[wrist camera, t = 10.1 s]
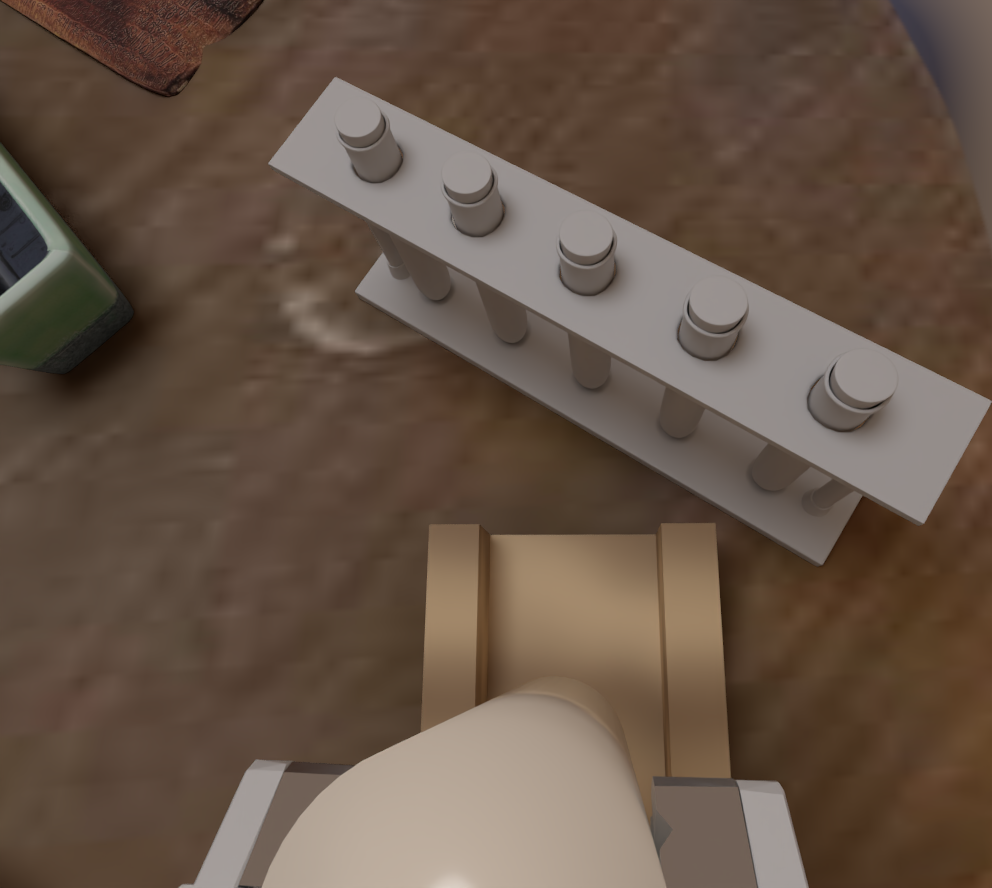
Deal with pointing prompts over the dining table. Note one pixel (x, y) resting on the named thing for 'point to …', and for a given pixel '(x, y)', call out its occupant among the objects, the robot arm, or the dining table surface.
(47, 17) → the wooden tablet
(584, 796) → the clay rod
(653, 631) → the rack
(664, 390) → the test tube rack
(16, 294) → the planter
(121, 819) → the dining table surface
